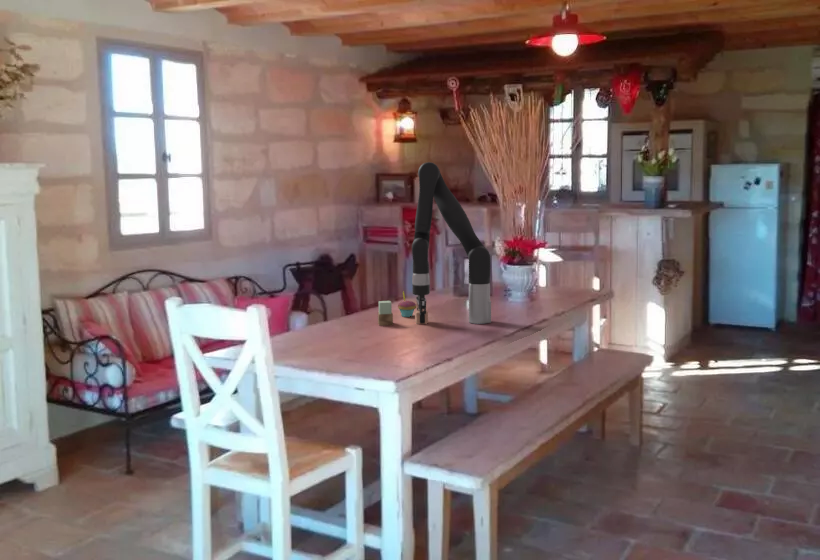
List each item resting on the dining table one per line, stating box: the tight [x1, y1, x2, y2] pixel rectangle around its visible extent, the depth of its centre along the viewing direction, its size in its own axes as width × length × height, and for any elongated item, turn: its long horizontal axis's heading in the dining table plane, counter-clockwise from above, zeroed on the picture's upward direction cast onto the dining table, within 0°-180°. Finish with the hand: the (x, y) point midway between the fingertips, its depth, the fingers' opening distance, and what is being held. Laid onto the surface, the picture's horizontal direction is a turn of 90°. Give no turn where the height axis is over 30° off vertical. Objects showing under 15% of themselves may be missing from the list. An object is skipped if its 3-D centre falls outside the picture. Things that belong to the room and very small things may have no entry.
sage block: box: [378, 300, 393, 314], centre depth 374 cm, size 5×5×5 cm
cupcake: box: [397, 291, 417, 318], centre depth 393 cm, size 9×8×12 cm
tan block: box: [414, 310, 429, 325], centre depth 377 cm, size 5×5×5 cm
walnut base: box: [377, 311, 394, 327], centre depth 375 cm, size 6×6×5 cm
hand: (421, 321), depth 377 cm, fingers closed on tan block, 5 cm apart
